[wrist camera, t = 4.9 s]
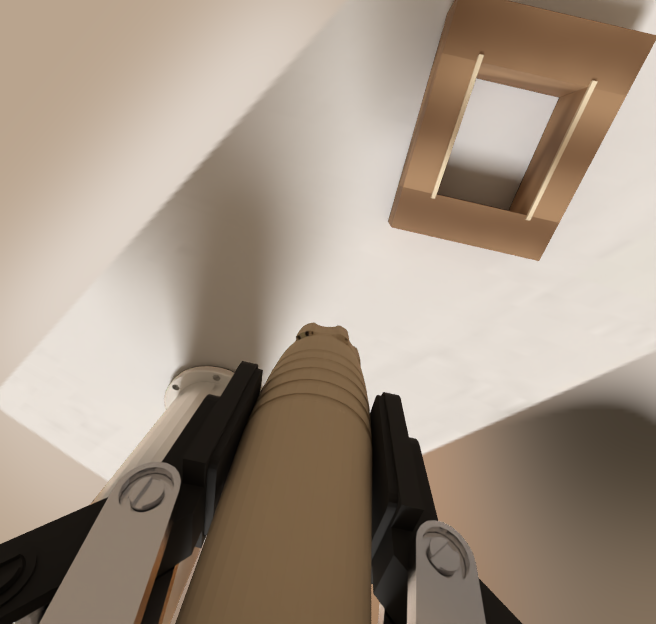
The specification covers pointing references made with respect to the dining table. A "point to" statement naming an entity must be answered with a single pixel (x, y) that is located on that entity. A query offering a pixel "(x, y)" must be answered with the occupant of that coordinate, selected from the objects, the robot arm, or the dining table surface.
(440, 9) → the dining table surface
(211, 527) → the handle
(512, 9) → the wooden frame
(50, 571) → the robot arm
